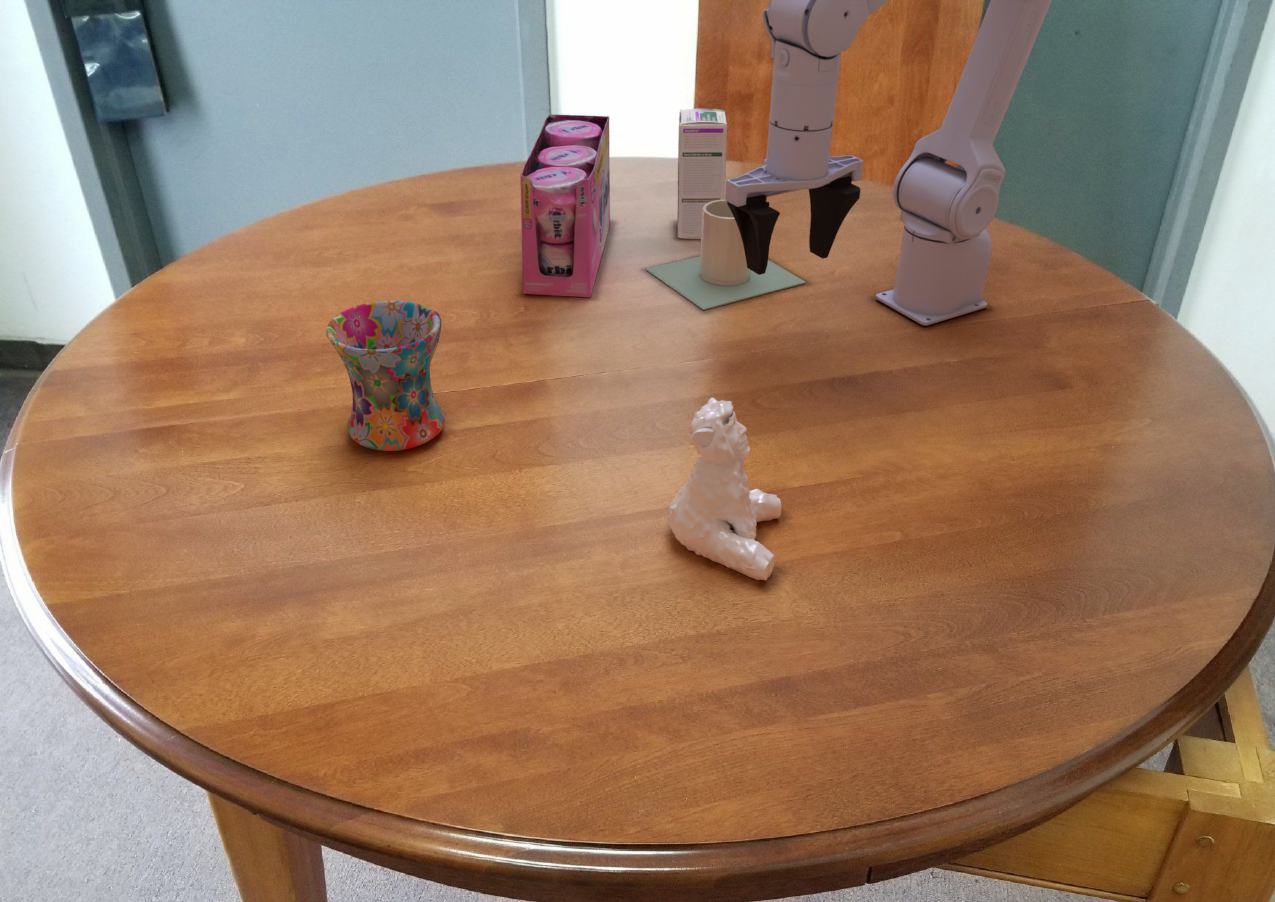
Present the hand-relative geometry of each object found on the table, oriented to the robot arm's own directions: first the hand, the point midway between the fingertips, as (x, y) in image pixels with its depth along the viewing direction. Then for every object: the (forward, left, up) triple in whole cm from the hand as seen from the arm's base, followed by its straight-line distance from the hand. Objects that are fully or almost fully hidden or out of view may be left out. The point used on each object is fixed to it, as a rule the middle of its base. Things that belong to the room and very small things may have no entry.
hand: (787, 262), depth 104 cm
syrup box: (-10, -30, -10) cm, 33 cm away
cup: (-5, -17, -9) cm, 20 cm away
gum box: (+8, -31, -10) cm, 33 cm away
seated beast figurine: (+23, +23, -10) cm, 34 cm away
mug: (+38, -5, -10) cm, 40 cm away
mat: (-5, -17, -9) cm, 20 cm away
